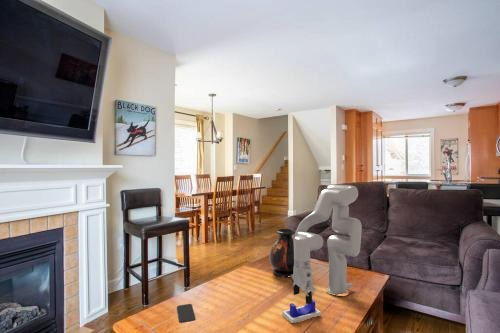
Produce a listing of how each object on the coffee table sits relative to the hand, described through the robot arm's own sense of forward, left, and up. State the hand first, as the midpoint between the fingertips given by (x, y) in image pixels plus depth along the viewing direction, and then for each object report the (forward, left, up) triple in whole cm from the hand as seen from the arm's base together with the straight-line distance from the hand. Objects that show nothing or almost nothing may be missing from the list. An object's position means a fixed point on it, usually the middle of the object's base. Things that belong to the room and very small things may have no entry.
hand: (302, 298), depth 132 cm
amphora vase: (-20, -47, -8) cm, 52 cm away
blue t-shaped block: (+1, 0, -8) cm, 8 cm away
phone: (+50, -25, -8) cm, 56 cm away
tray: (+1, 0, -8) cm, 8 cm away
